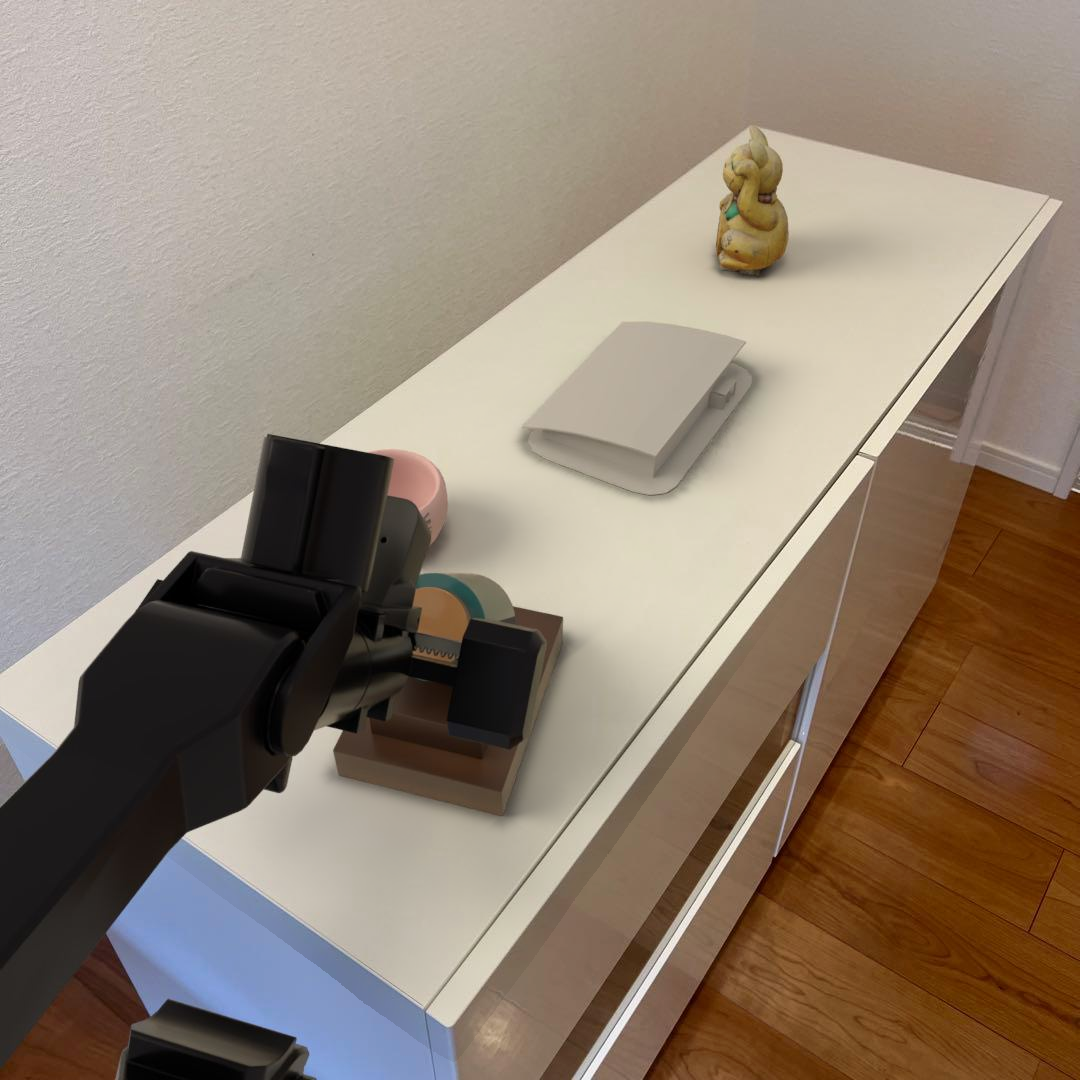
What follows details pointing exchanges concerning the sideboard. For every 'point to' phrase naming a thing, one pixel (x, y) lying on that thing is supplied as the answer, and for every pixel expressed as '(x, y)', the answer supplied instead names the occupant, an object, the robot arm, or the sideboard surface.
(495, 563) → the sideboard surface
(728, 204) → the decorative figurine
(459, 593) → the jar
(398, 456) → the mug
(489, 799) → the stand
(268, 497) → the robot arm
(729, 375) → the grey flat folded piece
